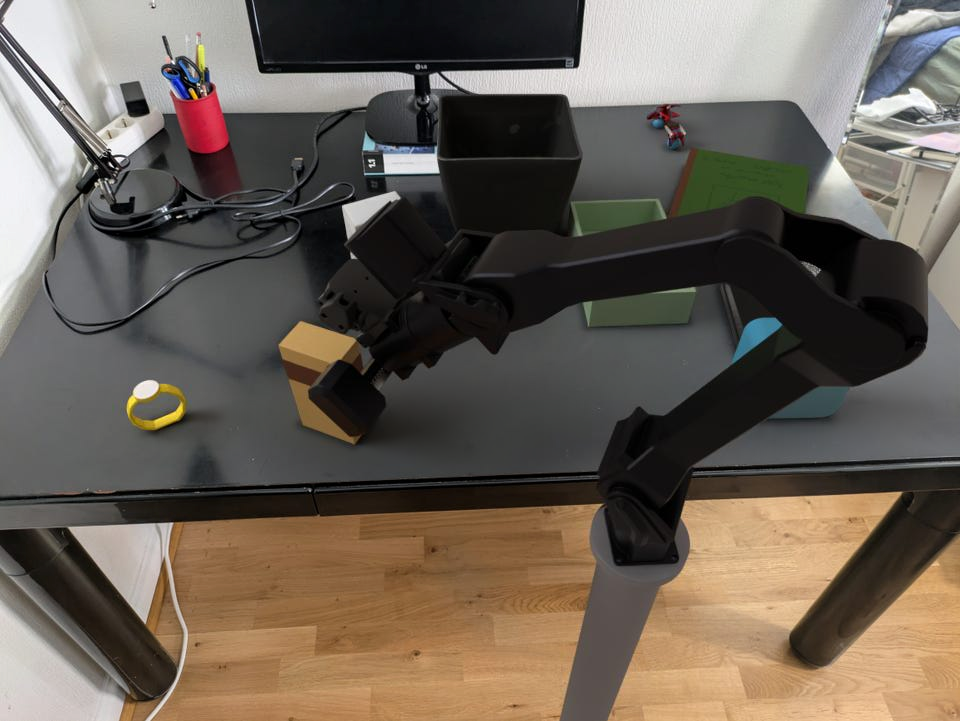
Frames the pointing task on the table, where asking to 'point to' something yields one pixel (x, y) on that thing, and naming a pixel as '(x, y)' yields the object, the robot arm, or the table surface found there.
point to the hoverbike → (668, 124)
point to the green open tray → (638, 307)
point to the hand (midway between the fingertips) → (343, 370)
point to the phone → (741, 309)
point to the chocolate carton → (316, 369)
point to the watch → (148, 393)
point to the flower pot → (507, 160)
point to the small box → (364, 211)
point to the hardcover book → (736, 182)
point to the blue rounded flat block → (807, 406)
